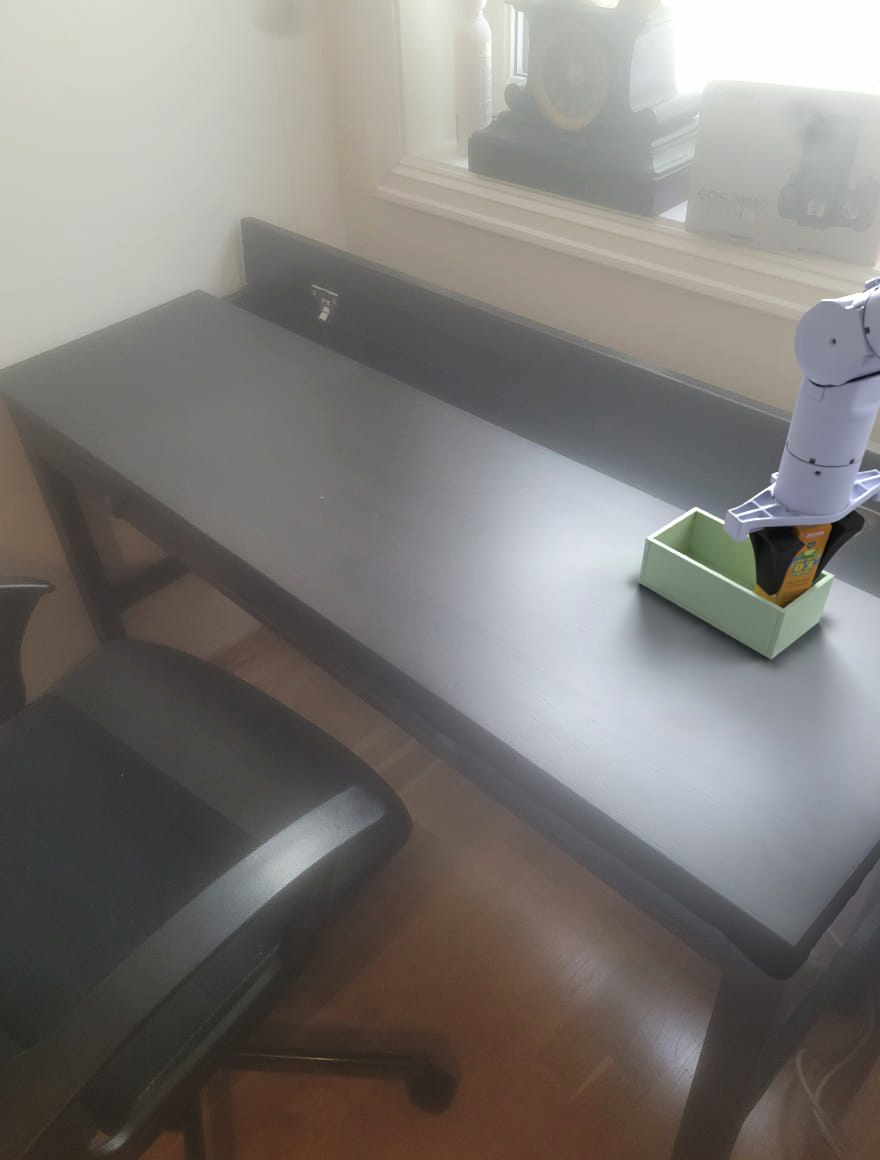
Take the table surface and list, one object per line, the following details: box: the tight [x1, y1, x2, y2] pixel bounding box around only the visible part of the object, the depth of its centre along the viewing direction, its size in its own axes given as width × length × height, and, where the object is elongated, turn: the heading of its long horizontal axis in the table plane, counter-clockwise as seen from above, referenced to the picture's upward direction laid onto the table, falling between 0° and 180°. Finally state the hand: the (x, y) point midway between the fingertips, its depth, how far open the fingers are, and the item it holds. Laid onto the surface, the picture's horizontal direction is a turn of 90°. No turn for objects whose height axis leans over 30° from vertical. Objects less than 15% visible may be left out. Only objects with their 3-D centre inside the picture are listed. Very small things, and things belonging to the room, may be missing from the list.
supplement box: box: [754, 523, 832, 609], centre depth 78 cm, size 3×4×10 cm
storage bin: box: [638, 506, 835, 660], centre depth 84 cm, size 15×8×6 cm, turn 39°
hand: (785, 582), depth 79 cm, fingers closed on supplement box, 3 cm apart
